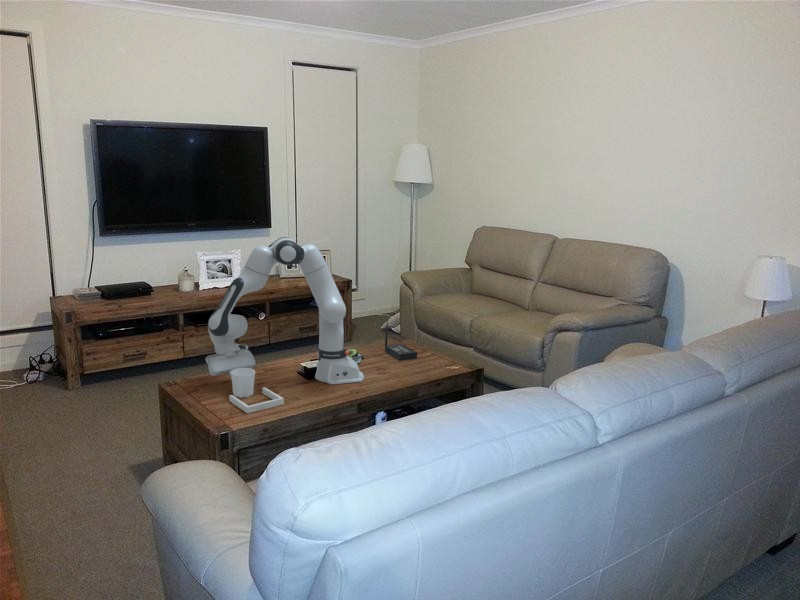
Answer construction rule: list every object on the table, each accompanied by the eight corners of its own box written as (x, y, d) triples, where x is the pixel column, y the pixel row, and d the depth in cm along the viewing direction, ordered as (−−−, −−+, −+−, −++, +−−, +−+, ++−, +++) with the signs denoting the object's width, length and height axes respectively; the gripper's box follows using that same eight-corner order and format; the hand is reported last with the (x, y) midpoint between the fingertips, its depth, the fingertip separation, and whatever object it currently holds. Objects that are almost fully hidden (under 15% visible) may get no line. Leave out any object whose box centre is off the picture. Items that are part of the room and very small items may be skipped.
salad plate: (362, 369, 301) (362, 360, 300) (325, 367, 301) (325, 358, 300) (364, 356, 320) (365, 348, 318) (330, 354, 320) (330, 346, 319)
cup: (256, 397, 258) (256, 375, 256) (231, 399, 255) (231, 376, 253) (253, 388, 267) (253, 367, 265) (229, 390, 264) (229, 368, 262)
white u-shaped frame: (229, 401, 253) (229, 395, 253) (265, 392, 264) (265, 387, 263) (247, 413, 242) (247, 407, 242) (283, 404, 253) (283, 398, 252)
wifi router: (419, 358, 321) (421, 327, 317) (396, 362, 314) (398, 329, 310) (400, 347, 338) (402, 317, 334) (378, 350, 331) (379, 319, 327)
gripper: (206, 352, 260) (217, 381, 255) (250, 344, 273) (261, 372, 268) (202, 359, 264) (212, 388, 259) (245, 351, 277) (256, 378, 272)
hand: (237, 380), depth 264 cm, fingers closed, pressing on cup
